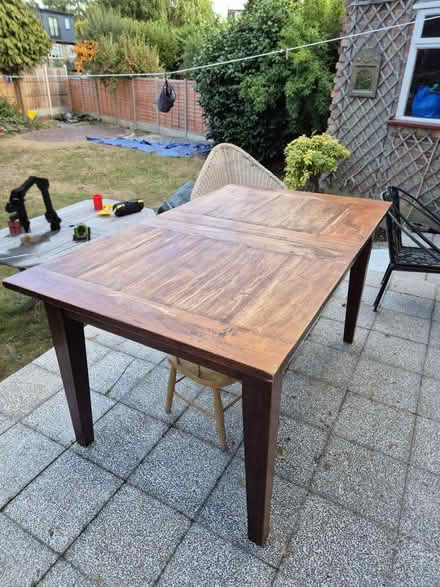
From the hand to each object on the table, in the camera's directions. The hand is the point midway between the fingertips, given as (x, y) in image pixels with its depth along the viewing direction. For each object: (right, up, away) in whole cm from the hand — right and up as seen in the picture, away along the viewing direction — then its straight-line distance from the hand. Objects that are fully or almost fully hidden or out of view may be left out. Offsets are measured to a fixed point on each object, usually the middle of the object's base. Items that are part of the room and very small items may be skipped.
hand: (26, 231), depth 269 cm
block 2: (0, -7, +4) cm, 8 cm away
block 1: (0, 0, 0) cm, 0 cm away
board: (+1, -5, +10) cm, 11 cm away
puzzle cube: (-18, +4, +27) cm, 32 cm away
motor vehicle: (+32, -1, +18) cm, 36 cm away
